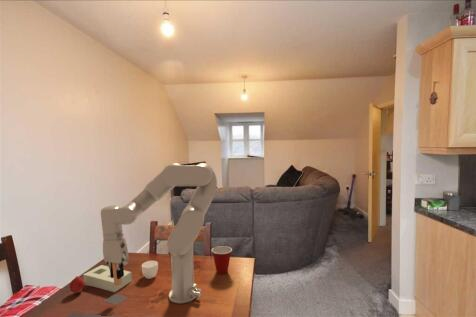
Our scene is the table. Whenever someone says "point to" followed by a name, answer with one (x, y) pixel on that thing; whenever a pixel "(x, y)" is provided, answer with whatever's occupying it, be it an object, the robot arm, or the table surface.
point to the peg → (116, 281)
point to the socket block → (105, 279)
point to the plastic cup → (221, 258)
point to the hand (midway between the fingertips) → (117, 276)
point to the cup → (149, 269)
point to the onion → (77, 285)
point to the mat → (115, 299)
